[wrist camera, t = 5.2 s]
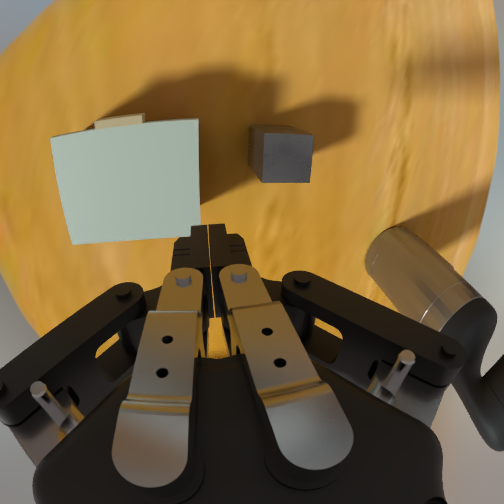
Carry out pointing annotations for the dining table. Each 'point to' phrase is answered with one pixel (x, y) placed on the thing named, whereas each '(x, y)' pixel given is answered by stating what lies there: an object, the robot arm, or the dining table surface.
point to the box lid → (129, 179)
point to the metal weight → (280, 153)
